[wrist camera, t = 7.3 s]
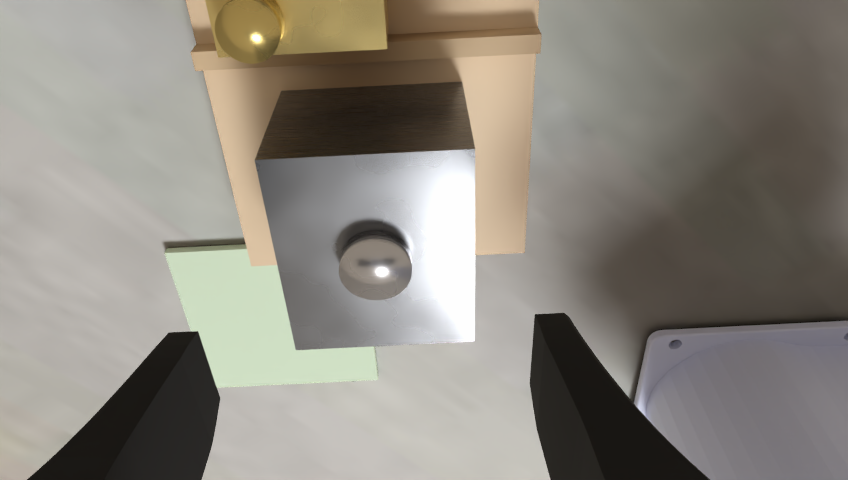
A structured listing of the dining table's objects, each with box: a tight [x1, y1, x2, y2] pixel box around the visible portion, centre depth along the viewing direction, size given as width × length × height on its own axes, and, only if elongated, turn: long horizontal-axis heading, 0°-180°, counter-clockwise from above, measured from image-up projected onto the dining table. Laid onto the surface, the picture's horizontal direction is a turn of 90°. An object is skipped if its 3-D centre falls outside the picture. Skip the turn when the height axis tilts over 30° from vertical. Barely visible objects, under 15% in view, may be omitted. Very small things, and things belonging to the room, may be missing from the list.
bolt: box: [205, 0, 389, 64], centre depth 16 cm, size 4×2×3 cm, turn 92°
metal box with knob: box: [255, 82, 475, 350], centre depth 18 cm, size 5×6×4 cm
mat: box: [165, 244, 378, 388], centre depth 25 cm, size 7×7×1 cm
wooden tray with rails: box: [186, 0, 541, 266], centre depth 19 cm, size 9×12×3 cm
